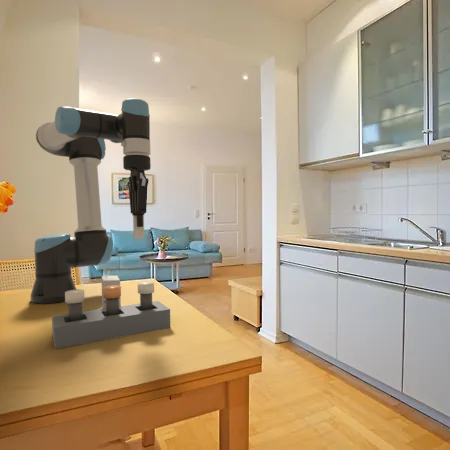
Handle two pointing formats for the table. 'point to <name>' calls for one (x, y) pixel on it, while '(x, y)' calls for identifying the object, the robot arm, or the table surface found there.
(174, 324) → the table surface
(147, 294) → the knob
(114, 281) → the ink box
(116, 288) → the knob middle
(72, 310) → the knob
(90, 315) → the board
